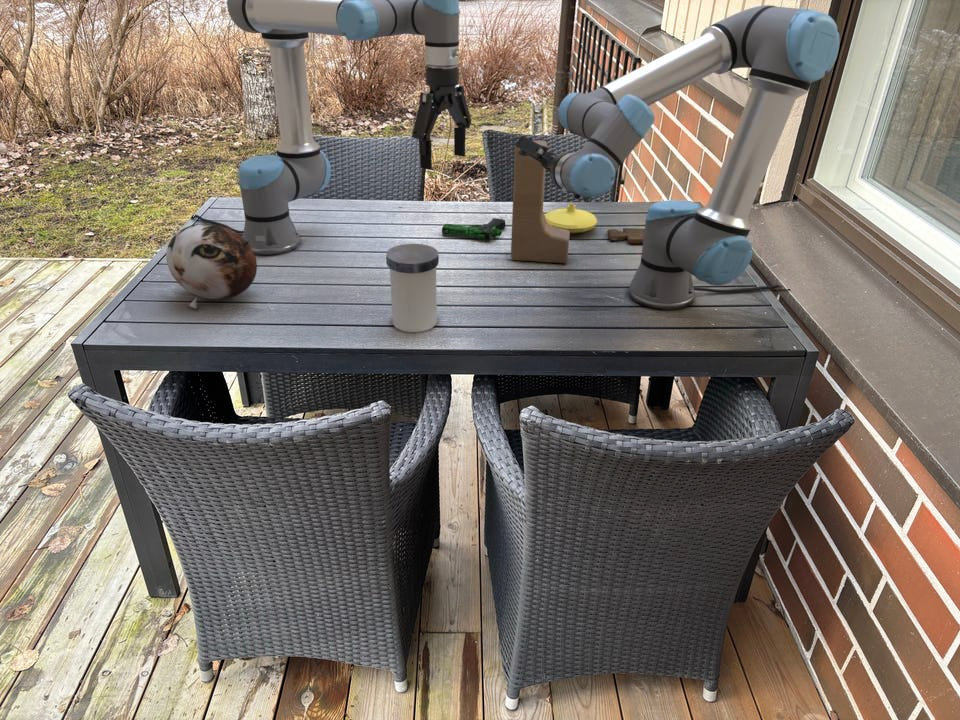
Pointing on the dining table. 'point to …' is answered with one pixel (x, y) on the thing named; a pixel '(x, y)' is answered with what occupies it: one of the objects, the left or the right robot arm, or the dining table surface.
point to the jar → (414, 300)
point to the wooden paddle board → (627, 235)
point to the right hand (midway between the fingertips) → (546, 167)
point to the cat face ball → (211, 261)
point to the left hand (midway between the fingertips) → (443, 161)
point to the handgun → (476, 230)
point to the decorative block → (534, 216)
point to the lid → (412, 258)
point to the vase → (571, 219)
